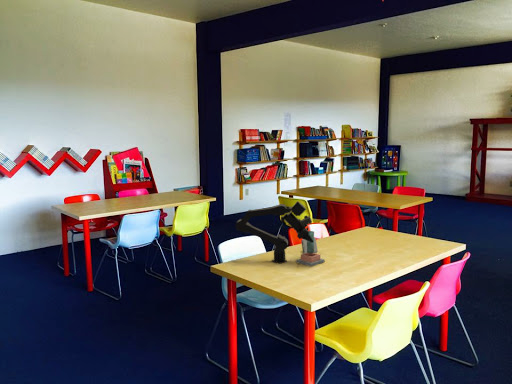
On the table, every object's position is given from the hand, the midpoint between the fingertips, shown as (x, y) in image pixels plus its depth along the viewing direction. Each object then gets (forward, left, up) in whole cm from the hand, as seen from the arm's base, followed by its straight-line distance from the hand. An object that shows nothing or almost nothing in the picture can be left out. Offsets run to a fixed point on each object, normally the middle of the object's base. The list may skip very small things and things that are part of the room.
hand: (312, 241), depth 252 cm
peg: (-1, +1, -7) cm, 7 cm away
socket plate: (-1, +1, -12) cm, 13 cm away
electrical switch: (+15, +15, -13) cm, 25 cm away
